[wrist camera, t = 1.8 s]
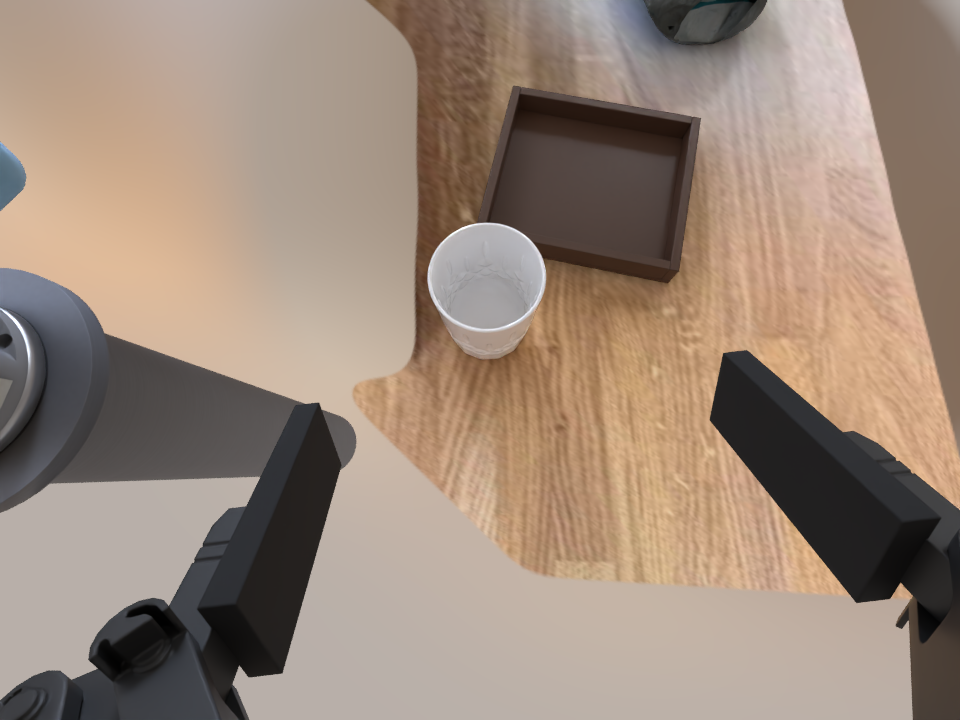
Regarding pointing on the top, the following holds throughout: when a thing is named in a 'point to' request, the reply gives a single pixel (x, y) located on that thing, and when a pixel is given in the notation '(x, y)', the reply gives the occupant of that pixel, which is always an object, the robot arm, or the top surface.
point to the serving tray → (594, 181)
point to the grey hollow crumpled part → (703, 18)
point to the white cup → (487, 287)
